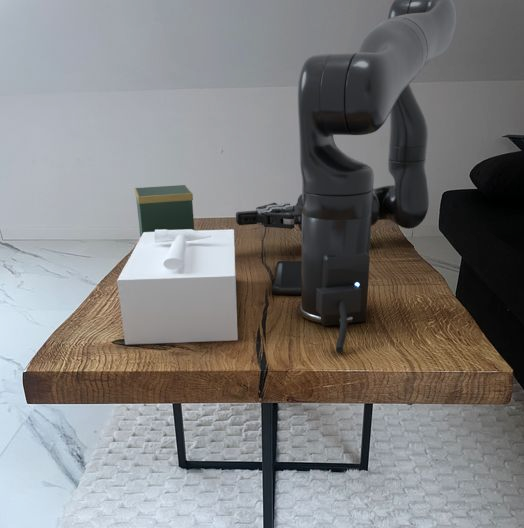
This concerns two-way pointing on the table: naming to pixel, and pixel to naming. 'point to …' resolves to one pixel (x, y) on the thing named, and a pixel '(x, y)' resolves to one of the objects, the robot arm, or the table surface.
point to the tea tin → (164, 208)
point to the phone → (287, 278)
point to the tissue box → (180, 288)
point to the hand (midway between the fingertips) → (236, 218)
